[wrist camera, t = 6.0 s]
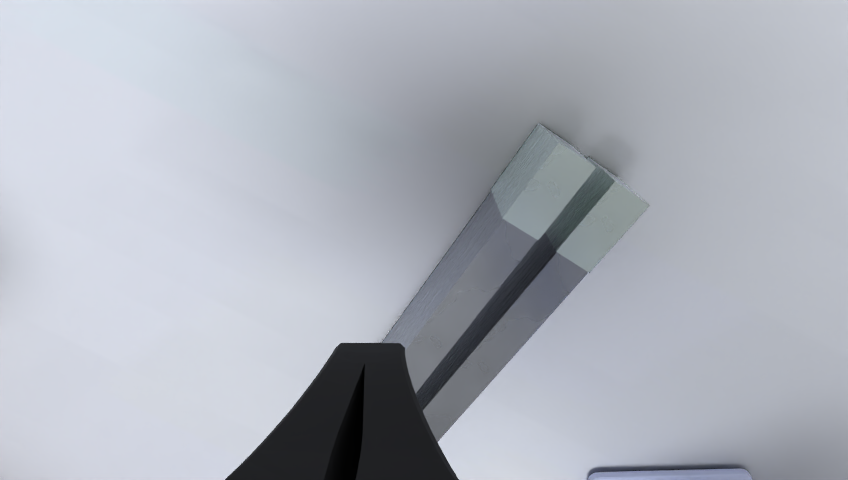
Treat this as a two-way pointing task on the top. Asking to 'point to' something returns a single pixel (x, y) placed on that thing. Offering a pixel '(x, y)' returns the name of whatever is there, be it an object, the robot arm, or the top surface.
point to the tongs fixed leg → (530, 294)
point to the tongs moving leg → (489, 249)
